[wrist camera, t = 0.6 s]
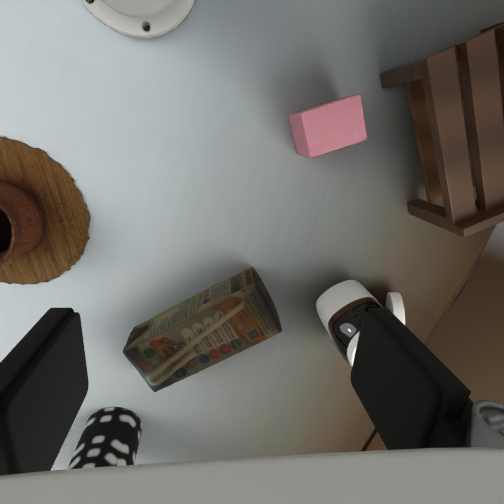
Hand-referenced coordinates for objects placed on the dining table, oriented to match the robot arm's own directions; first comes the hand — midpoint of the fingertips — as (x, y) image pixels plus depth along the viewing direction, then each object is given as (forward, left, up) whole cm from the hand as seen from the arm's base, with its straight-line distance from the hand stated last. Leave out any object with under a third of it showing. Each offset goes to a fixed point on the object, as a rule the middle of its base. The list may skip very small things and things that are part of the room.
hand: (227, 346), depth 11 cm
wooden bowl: (0, -24, -32) cm, 40 cm away
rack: (-4, +30, -32) cm, 43 cm away
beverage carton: (+17, -4, -32) cm, 37 cm away
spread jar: (+19, +18, -32) cm, 41 cm away
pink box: (-6, +13, -32) cm, 35 cm away
